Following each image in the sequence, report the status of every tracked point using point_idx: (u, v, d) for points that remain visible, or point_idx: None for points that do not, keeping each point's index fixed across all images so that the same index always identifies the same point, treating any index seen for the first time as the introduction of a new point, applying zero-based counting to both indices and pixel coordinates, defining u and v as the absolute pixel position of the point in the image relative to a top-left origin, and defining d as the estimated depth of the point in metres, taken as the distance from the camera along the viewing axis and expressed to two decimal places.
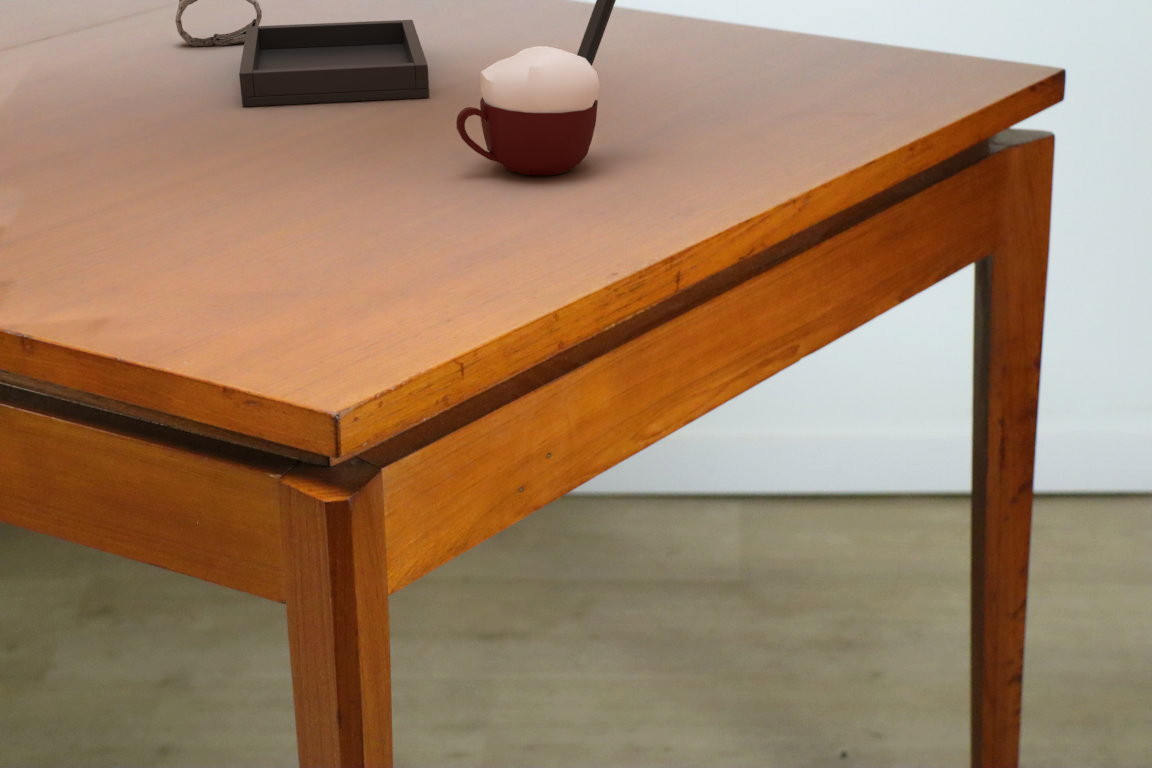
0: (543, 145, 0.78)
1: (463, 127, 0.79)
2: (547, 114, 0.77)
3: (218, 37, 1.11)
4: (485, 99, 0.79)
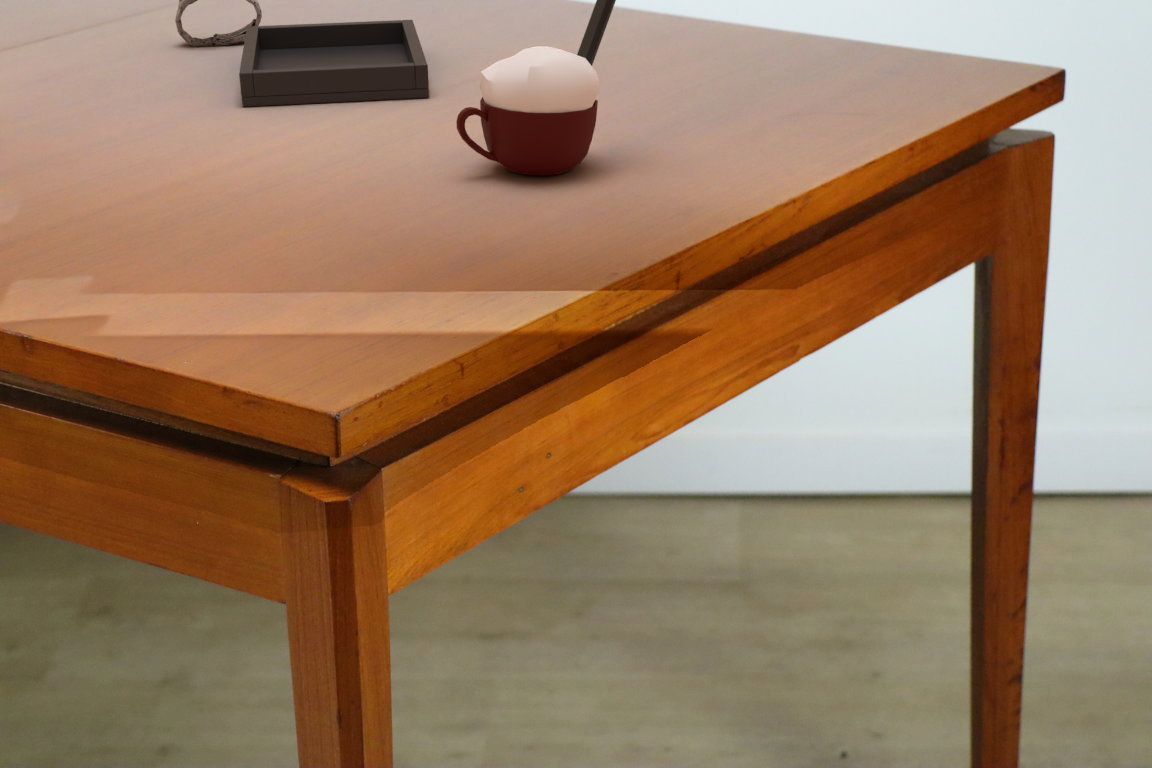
0: (543, 145, 0.78)
1: (463, 127, 0.79)
2: (547, 113, 0.77)
3: (218, 37, 1.11)
4: (485, 99, 0.79)
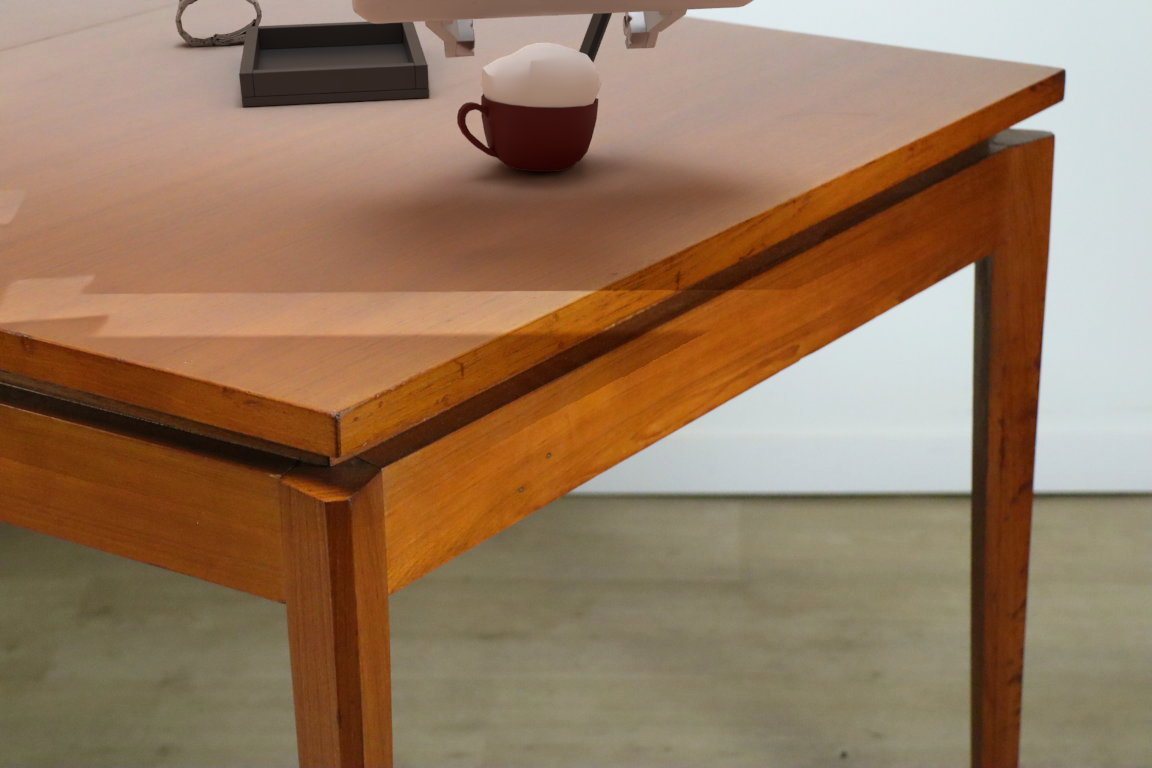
0: (543, 139, 0.78)
1: (464, 121, 0.79)
2: (547, 108, 0.77)
3: (218, 37, 1.11)
4: (486, 95, 0.79)
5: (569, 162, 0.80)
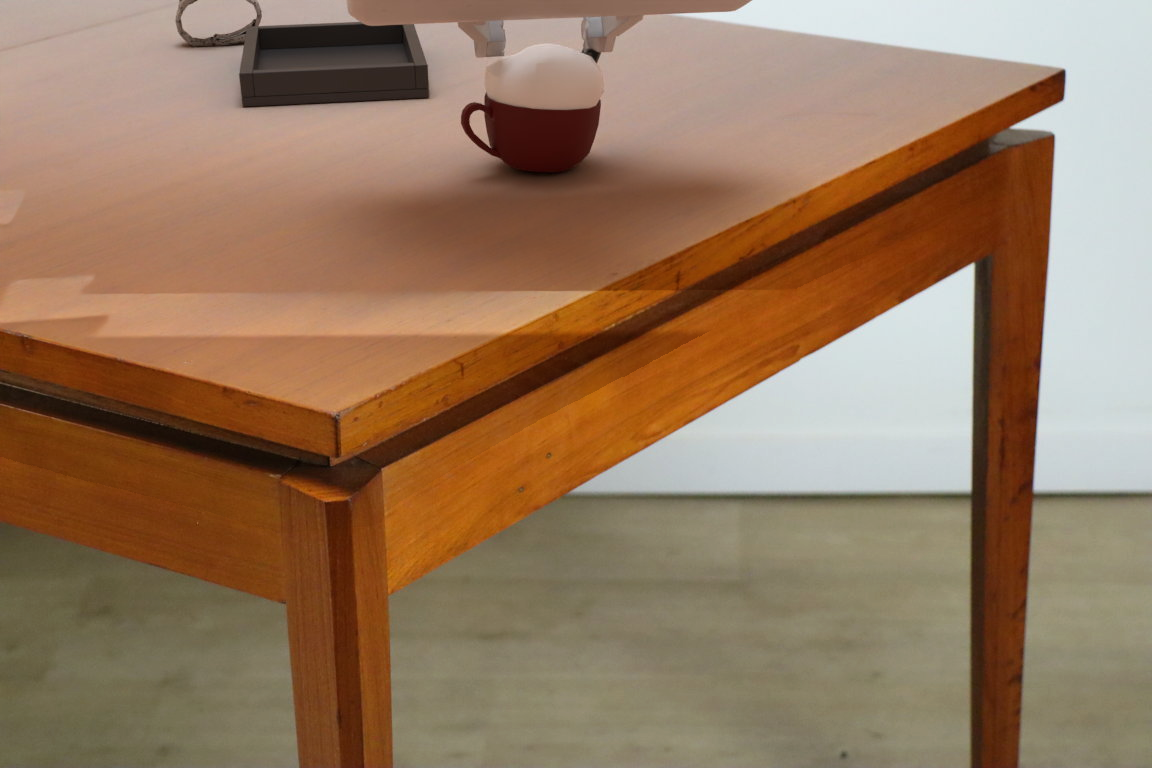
0: (548, 141, 0.78)
1: (468, 122, 0.79)
2: (553, 110, 0.77)
3: (218, 37, 1.11)
4: (490, 95, 0.79)
5: (572, 163, 0.80)
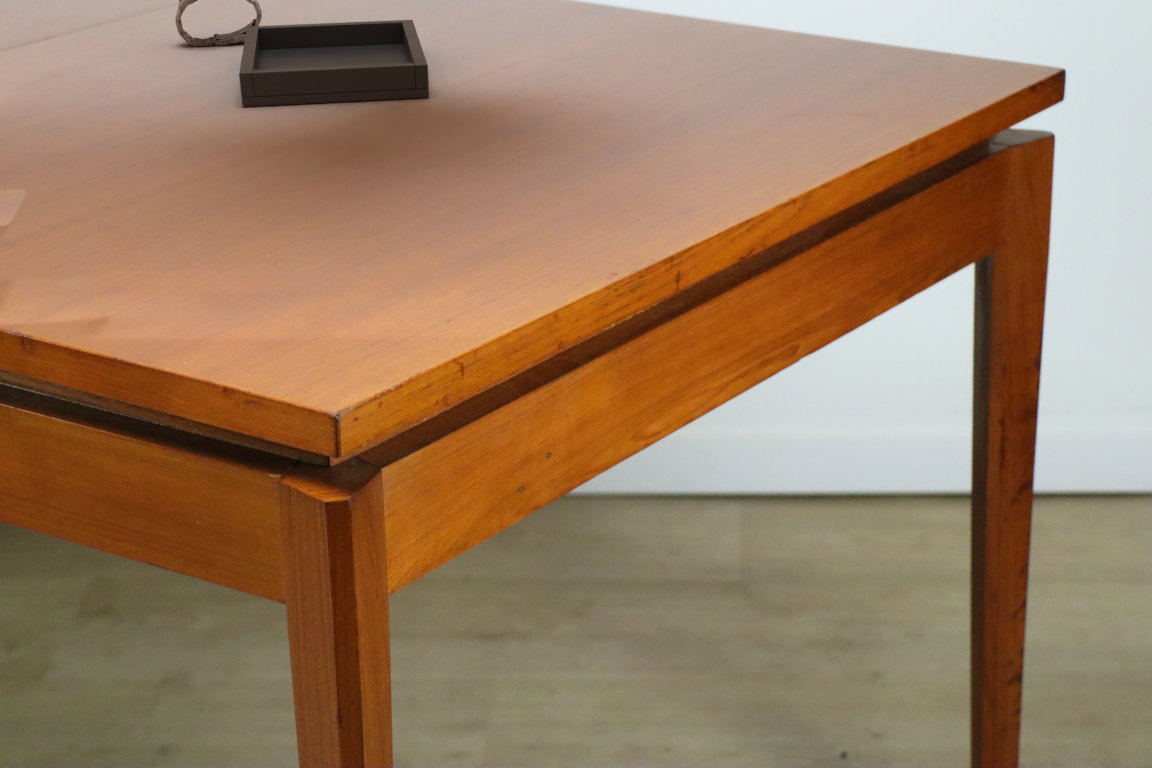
0: None
1: None
2: None
3: (218, 37, 1.11)
4: None
5: None
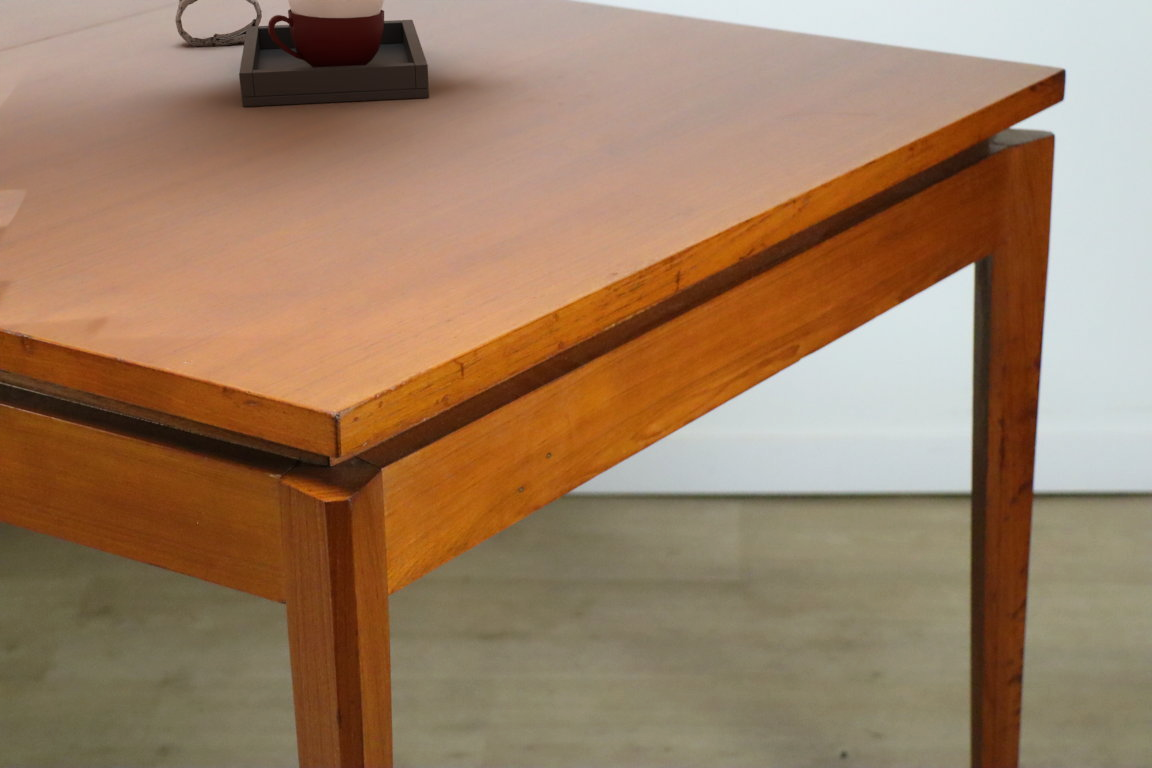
0: (335, 44, 0.98)
1: (273, 31, 0.99)
2: (337, 18, 0.97)
3: (218, 37, 1.11)
4: (291, 9, 0.99)
5: (359, 62, 1.00)
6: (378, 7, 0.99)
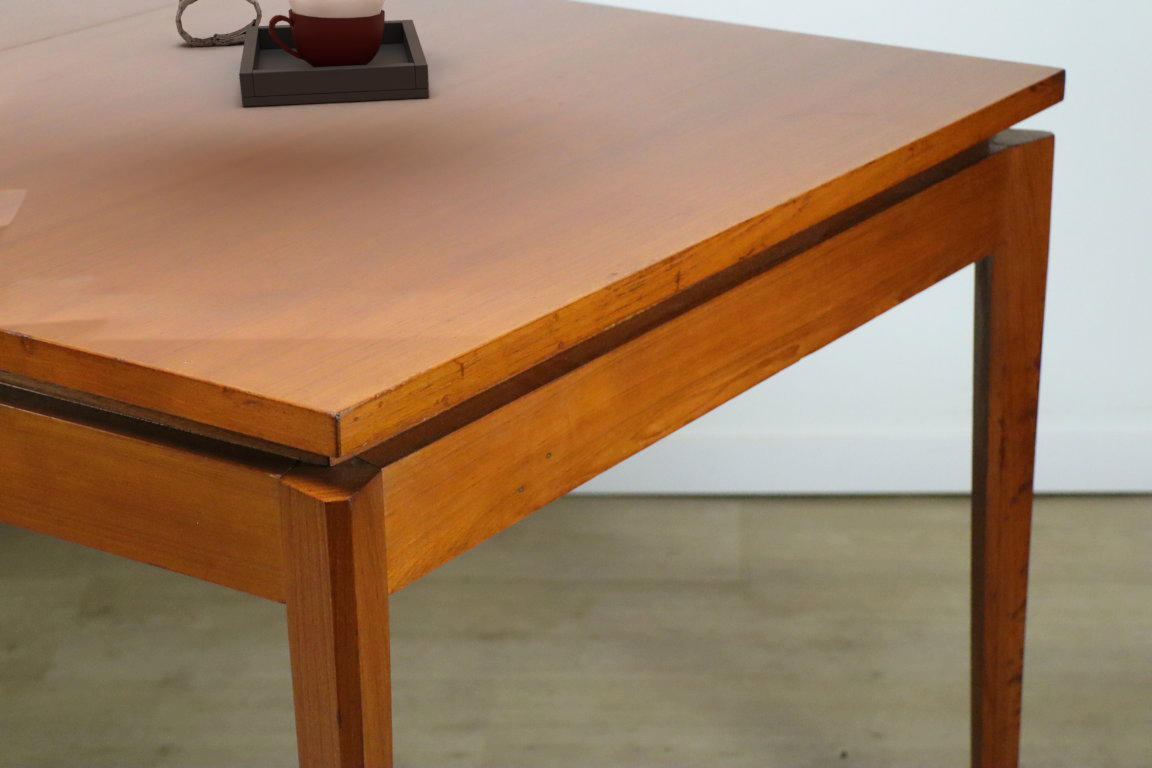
0: (336, 44, 0.98)
1: (273, 30, 0.99)
2: (337, 18, 0.97)
3: (218, 37, 1.11)
4: (292, 8, 0.99)
5: (360, 62, 1.00)
6: (379, 7, 0.99)
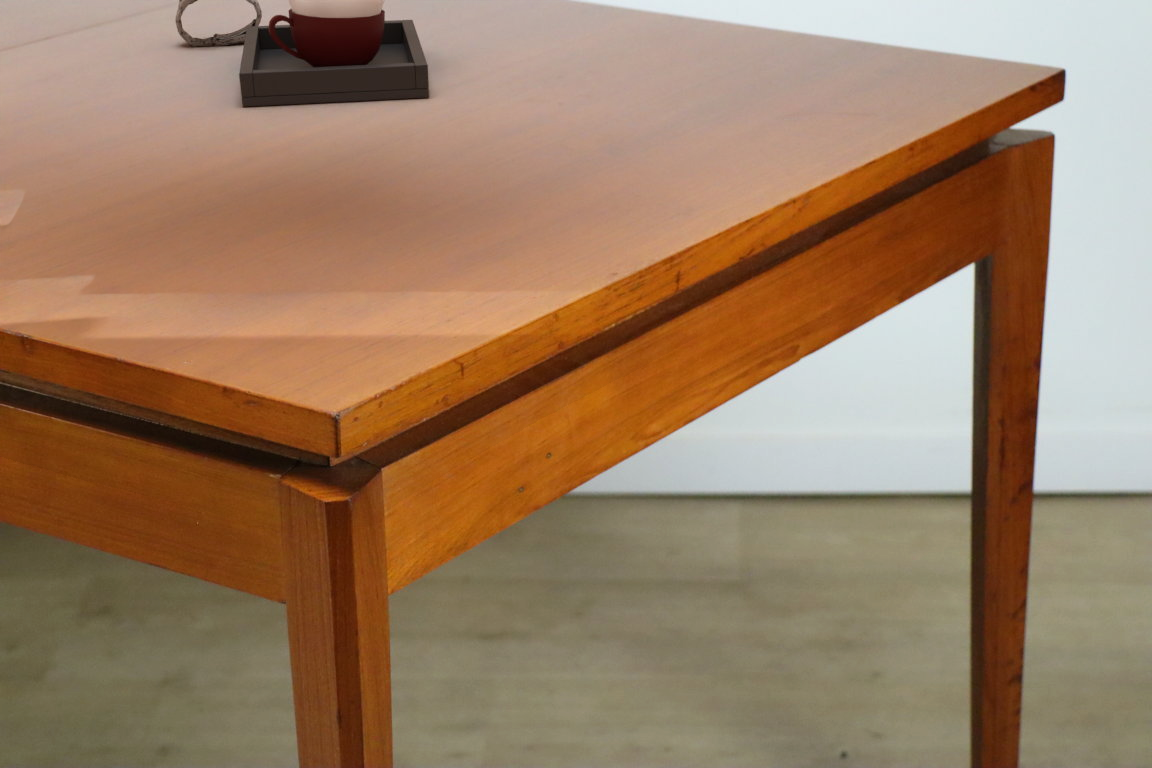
0: (336, 44, 0.98)
1: (273, 30, 0.99)
2: (337, 18, 0.97)
3: (218, 37, 1.11)
4: (292, 8, 0.99)
5: (360, 62, 1.00)
6: (379, 7, 0.99)
